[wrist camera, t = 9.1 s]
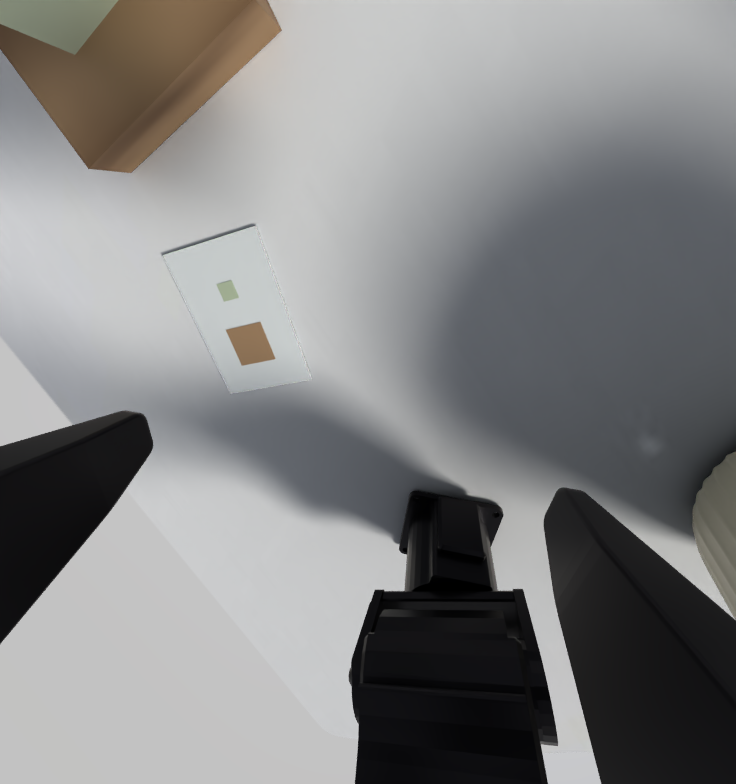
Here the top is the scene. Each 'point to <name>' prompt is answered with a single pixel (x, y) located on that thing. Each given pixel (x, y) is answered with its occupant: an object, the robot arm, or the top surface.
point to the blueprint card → (239, 311)
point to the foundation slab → (140, 72)
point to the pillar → (56, 20)
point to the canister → (718, 527)
